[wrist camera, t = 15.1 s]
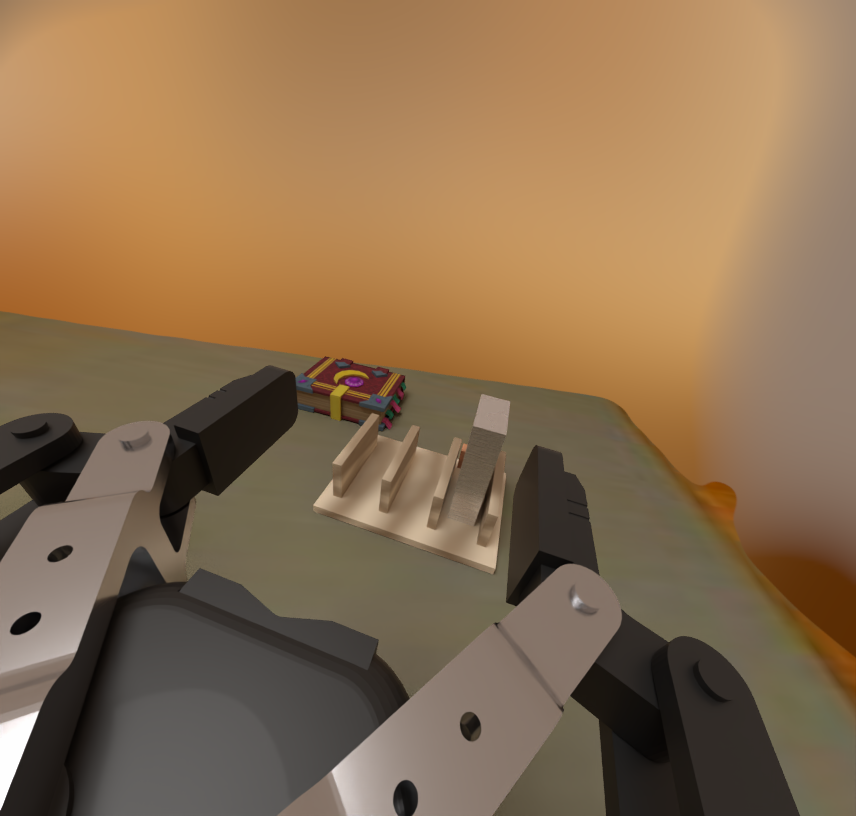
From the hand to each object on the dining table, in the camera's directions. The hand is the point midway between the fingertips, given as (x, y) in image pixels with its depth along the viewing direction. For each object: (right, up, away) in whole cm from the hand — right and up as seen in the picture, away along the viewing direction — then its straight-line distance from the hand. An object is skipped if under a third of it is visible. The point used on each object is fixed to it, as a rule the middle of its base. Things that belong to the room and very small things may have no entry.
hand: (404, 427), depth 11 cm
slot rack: (0, -10, +29) cm, 31 cm away
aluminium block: (+5, -10, +28) cm, 30 cm away
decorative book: (-12, +1, +44) cm, 45 cm away
